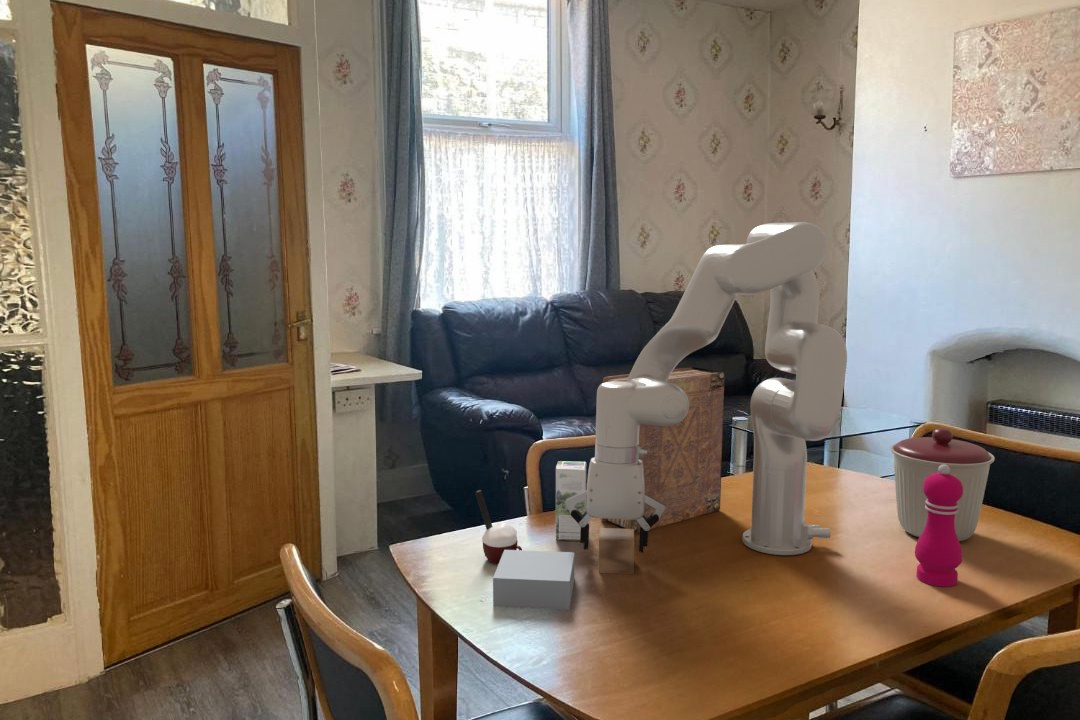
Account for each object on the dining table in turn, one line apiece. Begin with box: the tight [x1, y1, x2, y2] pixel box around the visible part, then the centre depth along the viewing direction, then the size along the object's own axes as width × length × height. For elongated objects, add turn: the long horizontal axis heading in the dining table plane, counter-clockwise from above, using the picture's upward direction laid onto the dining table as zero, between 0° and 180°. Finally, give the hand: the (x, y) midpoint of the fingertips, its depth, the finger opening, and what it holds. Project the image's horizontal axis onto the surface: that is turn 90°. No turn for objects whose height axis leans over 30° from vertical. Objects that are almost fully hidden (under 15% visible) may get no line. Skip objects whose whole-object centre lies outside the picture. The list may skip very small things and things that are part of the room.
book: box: [600, 366, 725, 534], centre depth 168 cm, size 25×9×30 cm, turn 124°
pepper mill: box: [914, 464, 963, 588], centre depth 136 cm, size 7×7×20 cm
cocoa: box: [475, 489, 523, 565], centre depth 146 cm, size 10×6×12 cm, turn 36°
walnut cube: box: [598, 527, 635, 575], centre depth 143 cm, size 6×6×6 cm
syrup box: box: [555, 460, 587, 542], centre depth 157 cm, size 6×6×14 cm
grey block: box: [492, 549, 576, 611], centre depth 133 cm, size 12×12×5 cm
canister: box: [889, 427, 996, 542], centre depth 158 cm, size 18×18×21 cm
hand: (613, 548), depth 143 cm, fingers open, 9 cm apart
